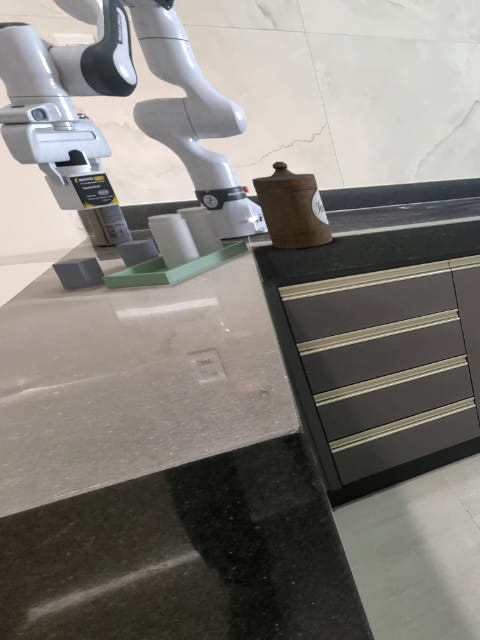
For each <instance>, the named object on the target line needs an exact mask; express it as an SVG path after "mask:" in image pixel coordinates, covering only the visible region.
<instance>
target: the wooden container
mask: <svg viewBox="0 0 480 640" xmlns="http://www.w3.org/2000/svg"><path fill="white" fill-rule="evenodd" d="M272 168H273V169H274V172H273V174H271V175H269V176H262V177H256V178H252V180H251V181H252V186H253V188H254V192H255V193H256V197H257V200H258V203H259V206H260V207H261V210H262V213H263V217H264V220H265V223H266V226H267V229H268V232H267V233H268V235H269V237H270V241H271V244H272V246H273V248H277V249H296V250H300V249H301V250H302V249H307V248H314V247H318V246H322V245H326V244H329V243H331V242H332V241H333V240H334V237H333V235H332V231H331V228H330V224H329V220H328V217H327V213H326V210H325V206H324V204H323V201H322V197H321V193H320V191H319V188H318V183H317V180H316V176H315V174H313V173H293V172H292V171H290V170H289V169H288V164H287V163H286V162H284V161H275V162H274V163H273V164H272Z"/></svg>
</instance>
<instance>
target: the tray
mask: <svg viewBox="0 0 480 640" xmlns="http://www.w3.org/2000/svg"><path fill="white" fill-rule="evenodd" d="M221 242H222V244H223V247H224V248H223V249H220V250H218V251H215V252H213V253H210V254H208V255H205V256H203V257H200V258H198V259H195V260H193V261H190V262H188V263H185V264H183V265H180V266H178V267H175V268H173V269H170V270H168V269H167V266H166V264H165V262H164V259H163V257H162V255H159V256H160V257H157V258H154V259H151V260H149V261H146V262H143V263H140V264H137V265H135V266H132V267H126V268H124V269H121V270H118V271H116V272H112V273H109V274H107V275H105V276H104V277H102V279H103V281H104V282H103V283H104V285H105V287H106V288H107V289H120V288H135V287H147V286H148V287H149V286H162V285H171V284H174V283H176V282H179V281H180V280H183V279H186V278H187V277H190V276H192V275H195V274H196V273H199V272H201V271H203V270H206V269H208V268H210V267H212V266H215V265H217V264H219V263H222V262H224V261H226V260H229V259H231V258H233V257H235V256H238V255H241V254H242V253H245V252H247V251H249V248H248V246H247V243H246V241H245V240H233V241H221Z"/></svg>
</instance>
